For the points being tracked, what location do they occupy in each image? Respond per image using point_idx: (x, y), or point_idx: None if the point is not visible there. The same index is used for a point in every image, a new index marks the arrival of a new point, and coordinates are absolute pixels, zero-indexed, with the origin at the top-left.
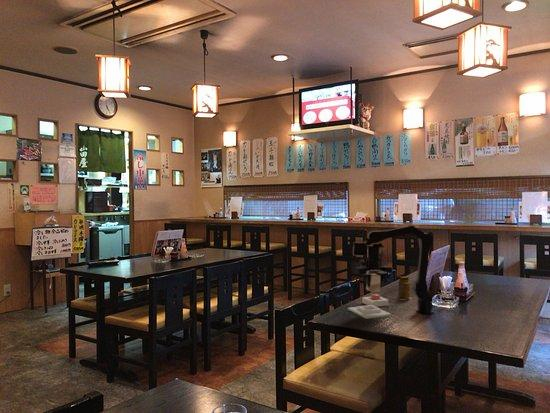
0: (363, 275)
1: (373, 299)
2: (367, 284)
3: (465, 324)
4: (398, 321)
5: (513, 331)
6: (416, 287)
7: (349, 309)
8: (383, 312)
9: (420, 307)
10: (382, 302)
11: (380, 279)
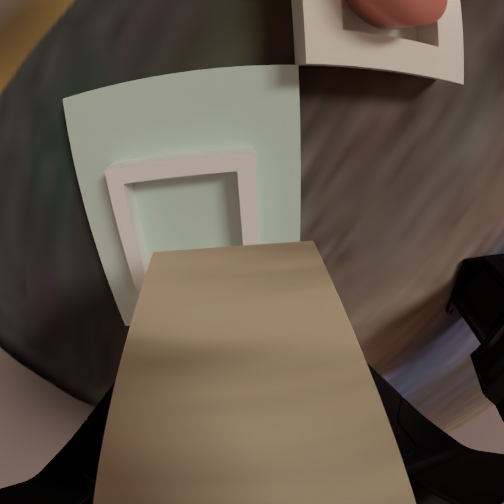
0: (25, 493)
1: (360, 4)
2: None
3: (438, 399)
4: None
5: (456, 423)
6: (499, 409)
7: (70, 123)
8: None
9: (469, 309)
10: (406, 73)
11: None
